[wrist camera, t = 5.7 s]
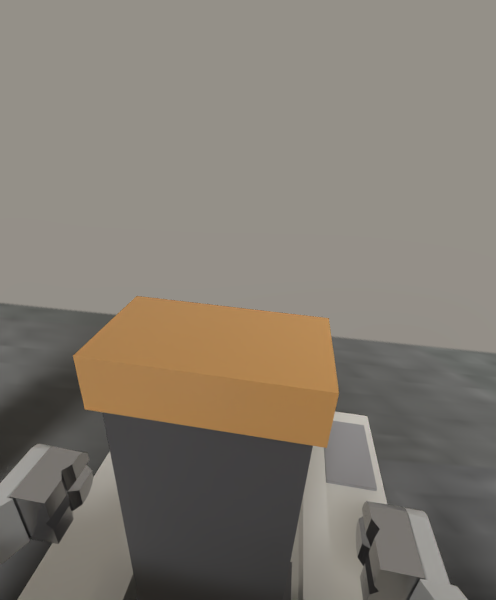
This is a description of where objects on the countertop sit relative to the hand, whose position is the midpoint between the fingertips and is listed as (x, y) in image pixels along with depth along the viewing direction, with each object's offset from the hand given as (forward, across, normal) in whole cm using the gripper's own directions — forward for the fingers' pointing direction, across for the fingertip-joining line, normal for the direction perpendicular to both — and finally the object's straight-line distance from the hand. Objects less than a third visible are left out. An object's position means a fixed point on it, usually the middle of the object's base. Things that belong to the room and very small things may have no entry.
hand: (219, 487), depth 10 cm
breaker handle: (-1, 0, +6) cm, 6 cm away
